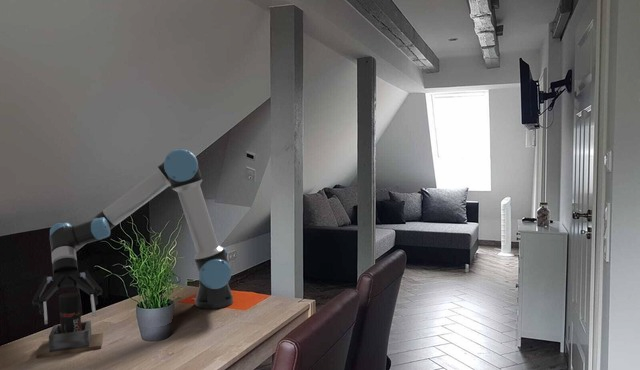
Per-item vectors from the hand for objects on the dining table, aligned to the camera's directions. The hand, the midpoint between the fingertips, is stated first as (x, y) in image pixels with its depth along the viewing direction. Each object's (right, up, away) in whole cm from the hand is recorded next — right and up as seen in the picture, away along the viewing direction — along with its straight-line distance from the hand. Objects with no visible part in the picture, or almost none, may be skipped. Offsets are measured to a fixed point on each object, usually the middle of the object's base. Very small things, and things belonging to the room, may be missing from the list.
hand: (70, 317), depth 154 cm
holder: (-1, -10, +2) cm, 10 cm away
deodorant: (-1, -8, +3) cm, 9 cm away
